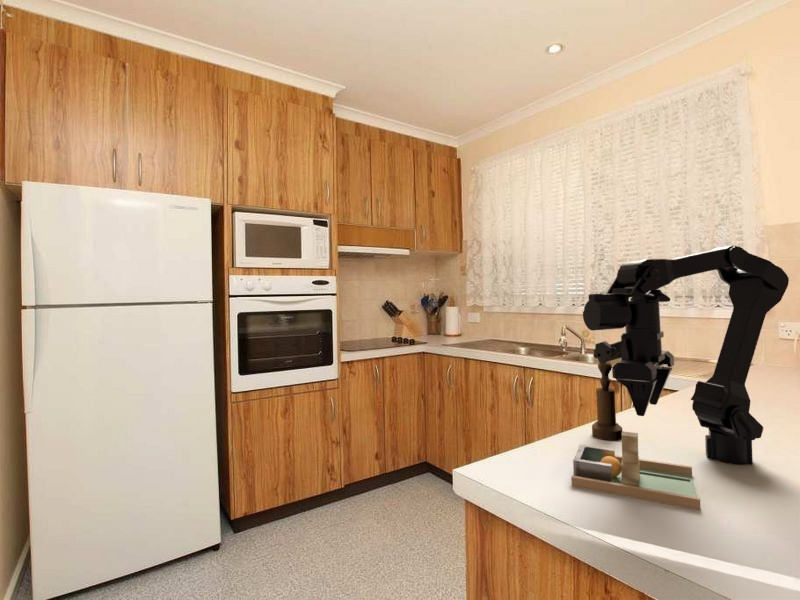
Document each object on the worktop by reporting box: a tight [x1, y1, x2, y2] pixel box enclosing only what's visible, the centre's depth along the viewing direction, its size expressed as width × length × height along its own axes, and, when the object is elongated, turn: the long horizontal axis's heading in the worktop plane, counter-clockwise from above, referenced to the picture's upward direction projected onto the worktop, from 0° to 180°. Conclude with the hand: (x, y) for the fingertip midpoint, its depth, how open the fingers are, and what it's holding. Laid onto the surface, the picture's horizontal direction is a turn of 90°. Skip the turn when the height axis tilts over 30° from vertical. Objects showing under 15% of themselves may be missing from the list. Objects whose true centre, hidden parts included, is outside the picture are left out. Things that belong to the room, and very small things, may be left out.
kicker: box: [621, 430, 640, 486], centre depth 73 cm, size 3×6×8 cm, turn 149°
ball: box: [600, 456, 621, 477], centre depth 75 cm, size 4×4×4 cm
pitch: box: [571, 454, 702, 511], centre depth 73 cm, size 18×14×2 cm
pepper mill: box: [591, 361, 623, 441], centre depth 99 cm, size 7×6×18 cm
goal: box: [572, 443, 616, 482], centre depth 76 cm, size 6×9×4 cm, turn 149°
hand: (647, 409), depth 78 cm, fingers open, 9 cm apart
